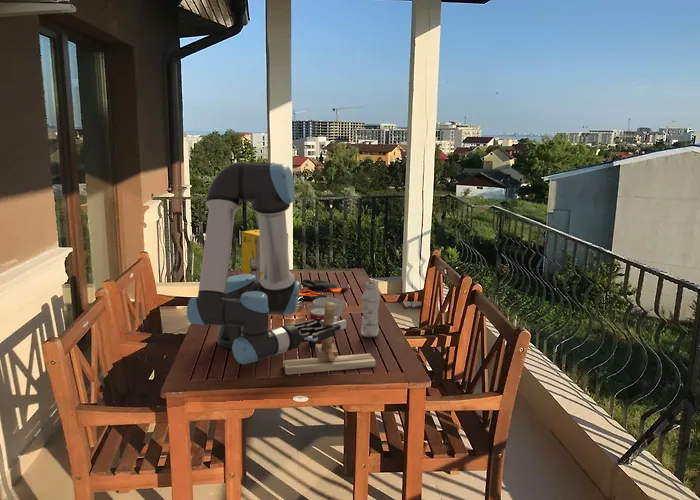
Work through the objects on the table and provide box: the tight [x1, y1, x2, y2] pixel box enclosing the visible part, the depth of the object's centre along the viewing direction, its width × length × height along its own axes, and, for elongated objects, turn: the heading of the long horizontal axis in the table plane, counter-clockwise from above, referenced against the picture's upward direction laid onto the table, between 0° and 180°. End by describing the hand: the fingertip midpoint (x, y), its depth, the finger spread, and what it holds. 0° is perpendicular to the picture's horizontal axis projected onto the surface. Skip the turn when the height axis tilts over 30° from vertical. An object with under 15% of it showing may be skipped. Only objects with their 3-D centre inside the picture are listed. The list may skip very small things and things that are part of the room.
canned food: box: [309, 308, 334, 345], centre depth 186 cm, size 8×8×11 cm
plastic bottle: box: [360, 281, 381, 338], centre depth 190 cm, size 6×7×20 cm
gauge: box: [314, 302, 339, 361], centre depth 167 cm, size 11×6×18 cm, turn 15°
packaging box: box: [241, 229, 289, 280], centre depth 261 cm, size 16×16×25 cm
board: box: [282, 353, 377, 375], centre depth 165 cm, size 6×28×2 cm, turn 105°
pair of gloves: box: [299, 279, 349, 302], centre depth 248 cm, size 27×24×3 cm
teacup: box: [305, 296, 346, 320], centre depth 208 cm, size 15×12×8 cm
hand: (340, 322), depth 172 cm, fingers closed on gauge, 3 cm apart
